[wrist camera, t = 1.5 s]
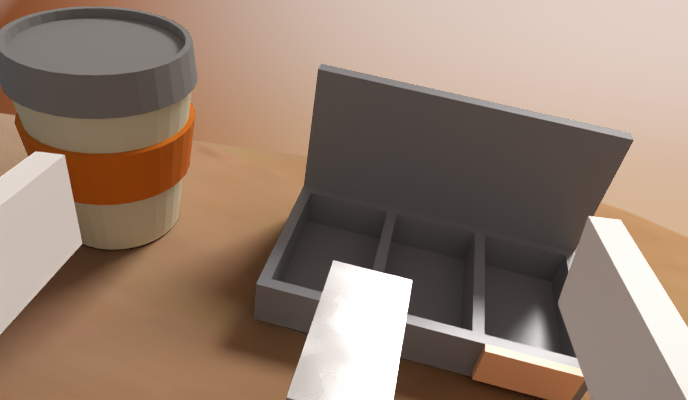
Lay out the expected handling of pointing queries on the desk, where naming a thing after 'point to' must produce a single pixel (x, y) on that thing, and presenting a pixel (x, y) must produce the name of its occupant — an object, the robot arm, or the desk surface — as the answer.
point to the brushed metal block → (354, 337)
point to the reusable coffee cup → (107, 112)
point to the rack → (447, 223)
